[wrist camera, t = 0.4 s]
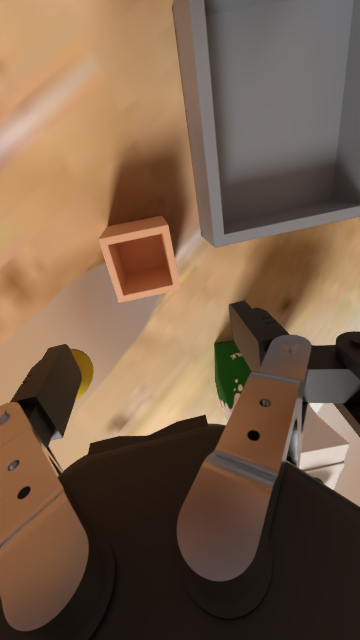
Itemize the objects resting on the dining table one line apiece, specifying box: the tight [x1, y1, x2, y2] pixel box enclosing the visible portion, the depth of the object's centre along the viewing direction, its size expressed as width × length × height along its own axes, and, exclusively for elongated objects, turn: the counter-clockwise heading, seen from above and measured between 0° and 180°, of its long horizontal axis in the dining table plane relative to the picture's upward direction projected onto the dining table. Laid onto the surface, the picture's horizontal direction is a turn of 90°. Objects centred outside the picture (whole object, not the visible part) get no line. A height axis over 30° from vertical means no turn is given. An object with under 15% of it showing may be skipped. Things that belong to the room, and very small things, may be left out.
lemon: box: [70, 349, 93, 400], centre depth 31 cm, size 6×6×8 cm
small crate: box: [98, 215, 180, 303], centre depth 26 cm, size 6×6×7 cm
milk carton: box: [214, 341, 349, 490], centre depth 30 cm, size 9×9×20 cm
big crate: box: [172, 0, 360, 247], centre depth 23 cm, size 18×16×6 cm
